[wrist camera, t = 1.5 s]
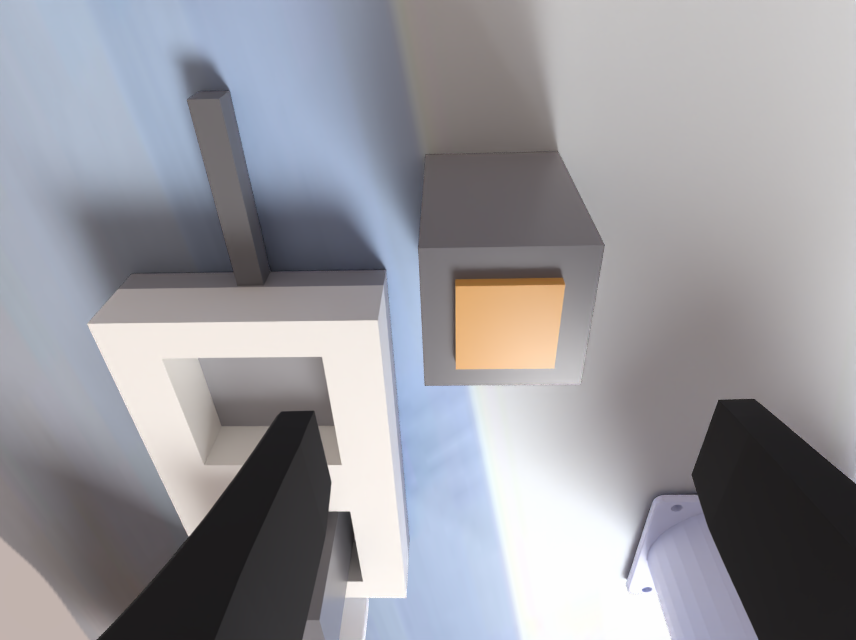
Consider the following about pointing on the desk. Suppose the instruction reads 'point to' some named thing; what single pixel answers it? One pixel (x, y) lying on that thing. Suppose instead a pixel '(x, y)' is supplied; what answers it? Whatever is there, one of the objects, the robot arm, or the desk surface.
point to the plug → (505, 270)
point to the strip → (267, 380)
